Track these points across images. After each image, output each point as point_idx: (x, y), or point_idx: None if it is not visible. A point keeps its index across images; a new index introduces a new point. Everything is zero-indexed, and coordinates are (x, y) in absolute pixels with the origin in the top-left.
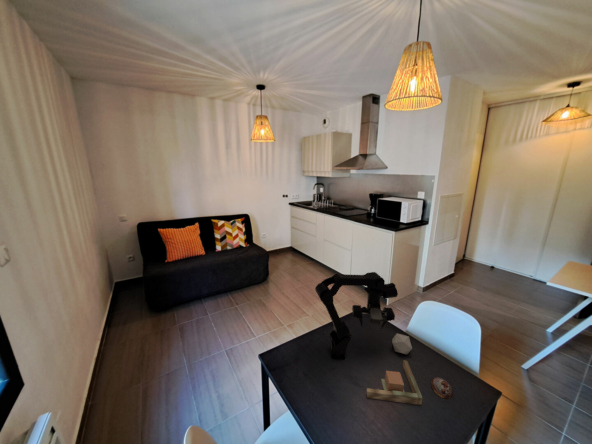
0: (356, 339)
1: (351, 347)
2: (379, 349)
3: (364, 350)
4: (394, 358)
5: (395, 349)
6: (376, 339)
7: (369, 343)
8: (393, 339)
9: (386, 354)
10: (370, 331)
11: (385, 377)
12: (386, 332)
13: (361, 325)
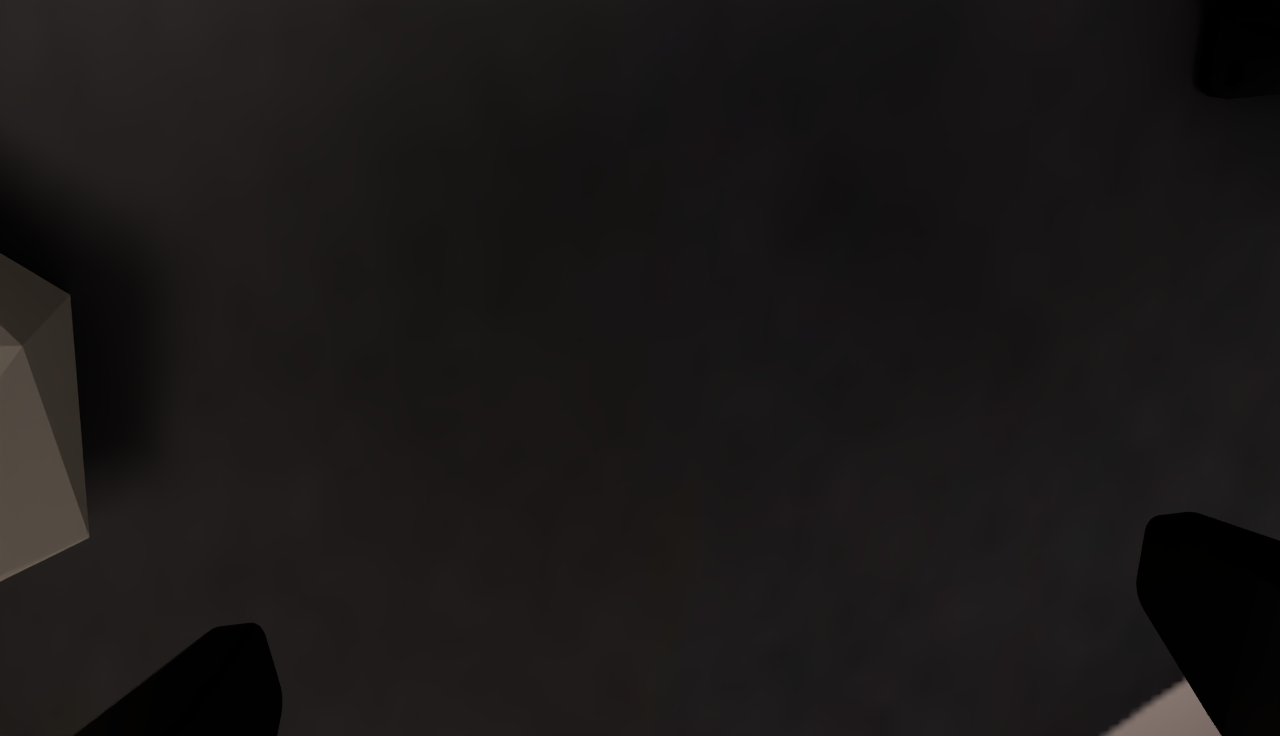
0: (873, 418)
1: (1013, 178)
2: (413, 262)
3: (743, 157)
4: (74, 72)
5: (22, 282)
6: (464, 514)
7: (616, 377)
8: (1, 484)
9: (260, 153)
10: (571, 676)
11: None
12: None
13: (1262, 542)
